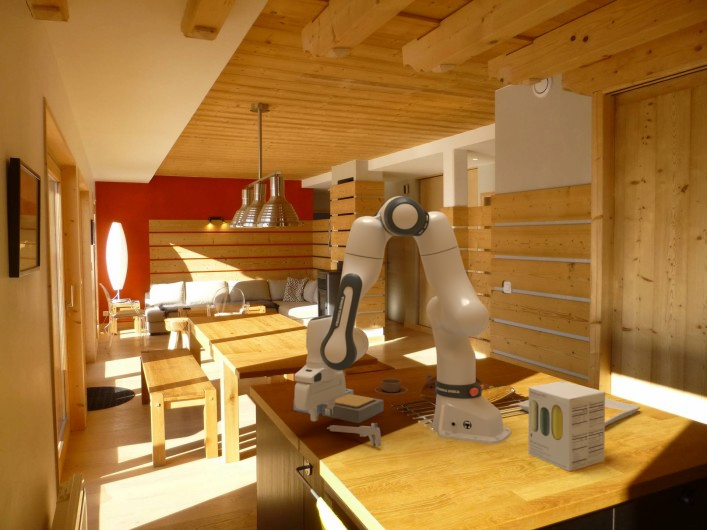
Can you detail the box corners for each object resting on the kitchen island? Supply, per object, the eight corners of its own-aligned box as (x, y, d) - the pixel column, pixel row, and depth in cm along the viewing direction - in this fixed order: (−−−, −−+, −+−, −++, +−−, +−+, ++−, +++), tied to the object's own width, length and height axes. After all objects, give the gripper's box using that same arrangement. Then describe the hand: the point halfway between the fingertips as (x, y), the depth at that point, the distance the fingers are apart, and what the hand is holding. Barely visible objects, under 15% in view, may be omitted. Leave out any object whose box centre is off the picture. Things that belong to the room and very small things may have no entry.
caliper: (380, 447, 149) (381, 424, 148) (378, 448, 148) (378, 425, 148) (329, 428, 163) (329, 407, 163) (326, 429, 163) (326, 408, 162)
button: (374, 411, 180) (374, 398, 180) (357, 419, 172) (357, 406, 172) (349, 406, 186) (349, 394, 186) (330, 413, 178) (330, 401, 178)
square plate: (601, 436, 158) (601, 422, 158) (515, 414, 179) (515, 402, 179) (641, 416, 176) (641, 404, 176) (559, 399, 197) (559, 387, 197)
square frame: (383, 412, 181) (383, 400, 181) (358, 424, 169) (358, 410, 169) (347, 405, 189) (347, 393, 189) (322, 416, 177) (321, 403, 177)
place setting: (382, 386, 215) (382, 371, 215) (434, 390, 209) (434, 375, 209) (368, 399, 199) (368, 382, 198) (424, 403, 192) (424, 386, 192)
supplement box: (526, 454, 145) (526, 386, 144) (562, 445, 151) (562, 380, 150) (569, 472, 133) (569, 398, 132) (605, 461, 139) (606, 391, 139)
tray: (331, 397, 199) (330, 385, 199) (353, 401, 194) (353, 389, 193) (293, 411, 183) (293, 399, 182) (317, 416, 177) (316, 403, 177)
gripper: (334, 363, 176) (334, 407, 176) (290, 376, 159) (291, 424, 159) (350, 365, 172) (350, 410, 172) (307, 379, 155) (308, 428, 156)
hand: (321, 417), depth 166 cm, fingers open, 5 cm apart
